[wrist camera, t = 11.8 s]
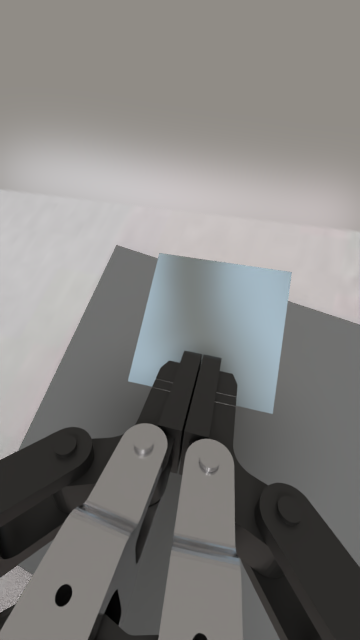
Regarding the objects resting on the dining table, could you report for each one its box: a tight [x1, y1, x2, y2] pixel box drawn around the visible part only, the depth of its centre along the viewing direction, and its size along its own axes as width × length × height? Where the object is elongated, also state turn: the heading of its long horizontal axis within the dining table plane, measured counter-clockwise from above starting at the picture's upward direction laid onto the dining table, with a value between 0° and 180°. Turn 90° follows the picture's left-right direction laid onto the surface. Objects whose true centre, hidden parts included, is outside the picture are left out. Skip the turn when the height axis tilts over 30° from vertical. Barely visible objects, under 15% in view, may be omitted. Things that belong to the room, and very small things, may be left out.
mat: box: [19, 245, 360, 640], centre depth 19 cm, size 26×24×1 cm
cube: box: [128, 253, 292, 414], centre depth 17 cm, size 7×7×7 cm
